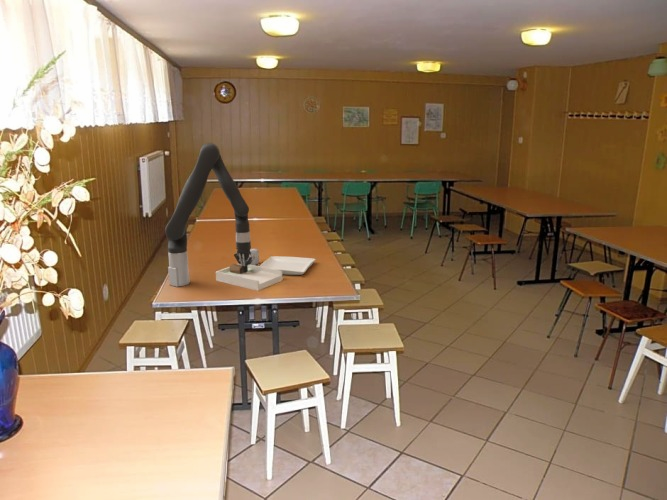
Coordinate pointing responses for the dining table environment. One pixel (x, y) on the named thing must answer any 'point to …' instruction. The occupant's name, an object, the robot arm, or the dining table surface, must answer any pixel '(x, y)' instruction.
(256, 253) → the medicine box
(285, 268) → the square plate
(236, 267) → the walnut block
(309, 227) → the dining table surface
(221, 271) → the box
